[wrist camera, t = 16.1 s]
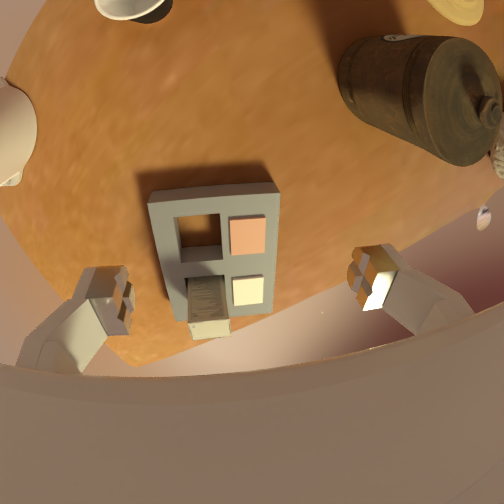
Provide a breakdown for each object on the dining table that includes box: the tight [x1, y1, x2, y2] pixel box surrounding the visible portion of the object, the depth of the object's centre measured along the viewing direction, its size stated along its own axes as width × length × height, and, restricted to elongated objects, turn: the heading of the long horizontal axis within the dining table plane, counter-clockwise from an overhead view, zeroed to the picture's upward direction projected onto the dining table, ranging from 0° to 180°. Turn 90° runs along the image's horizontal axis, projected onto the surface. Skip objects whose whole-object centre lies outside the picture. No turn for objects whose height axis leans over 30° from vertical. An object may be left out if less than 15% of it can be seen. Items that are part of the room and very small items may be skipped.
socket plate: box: [147, 182, 280, 321], centre depth 45 cm, size 18×24×4 cm
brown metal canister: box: [338, 35, 503, 167], centre depth 24 cm, size 15×15×22 cm
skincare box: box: [188, 275, 231, 340], centre depth 45 cm, size 6×4×12 cm
